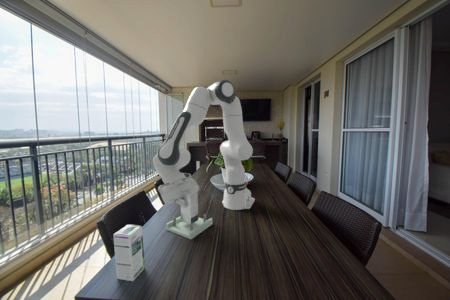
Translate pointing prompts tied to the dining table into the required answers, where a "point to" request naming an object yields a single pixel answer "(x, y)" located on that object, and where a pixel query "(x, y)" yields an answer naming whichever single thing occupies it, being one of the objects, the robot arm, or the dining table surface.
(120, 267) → the syrup box
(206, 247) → the dining table surface
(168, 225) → the pin tray
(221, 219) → the dining table surface
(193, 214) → the white carton
